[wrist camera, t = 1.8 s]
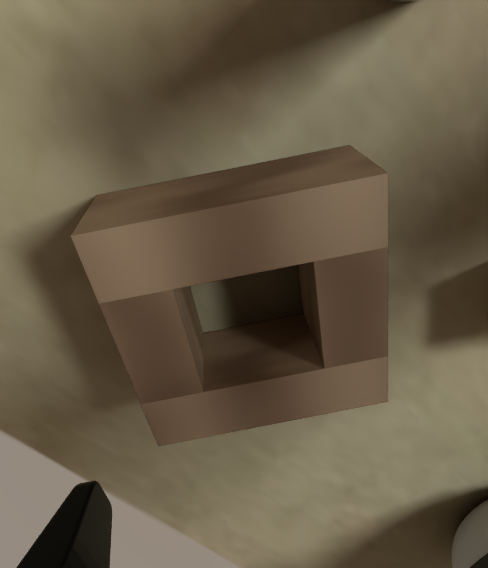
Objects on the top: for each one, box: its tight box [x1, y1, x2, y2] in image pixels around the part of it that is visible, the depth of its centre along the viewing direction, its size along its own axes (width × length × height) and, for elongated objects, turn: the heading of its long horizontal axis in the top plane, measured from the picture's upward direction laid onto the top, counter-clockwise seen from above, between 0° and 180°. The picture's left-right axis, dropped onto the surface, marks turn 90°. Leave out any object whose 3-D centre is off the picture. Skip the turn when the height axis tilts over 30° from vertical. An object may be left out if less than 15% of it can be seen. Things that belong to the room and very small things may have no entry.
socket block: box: [71, 145, 388, 446], centre depth 16 cm, size 9×9×4 cm
